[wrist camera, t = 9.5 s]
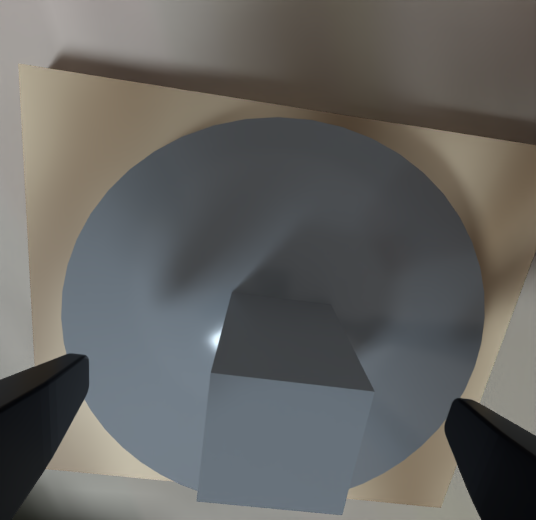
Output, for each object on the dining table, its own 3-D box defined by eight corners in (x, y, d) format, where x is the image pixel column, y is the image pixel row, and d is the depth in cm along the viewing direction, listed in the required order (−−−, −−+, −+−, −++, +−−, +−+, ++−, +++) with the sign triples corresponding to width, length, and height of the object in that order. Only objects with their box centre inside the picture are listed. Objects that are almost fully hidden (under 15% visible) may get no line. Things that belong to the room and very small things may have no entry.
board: (544, 152, 11) (572, 151, 10) (428, 484, 14) (441, 508, 13) (42, 74, 10) (18, 63, 9) (56, 447, 13) (40, 468, 12)
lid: (520, 158, 10) (775, 145, 5) (409, 492, 13) (495, 680, 8) (76, 89, 9) (-138, -4, 4) (81, 460, 12) (-35, 643, 8)
